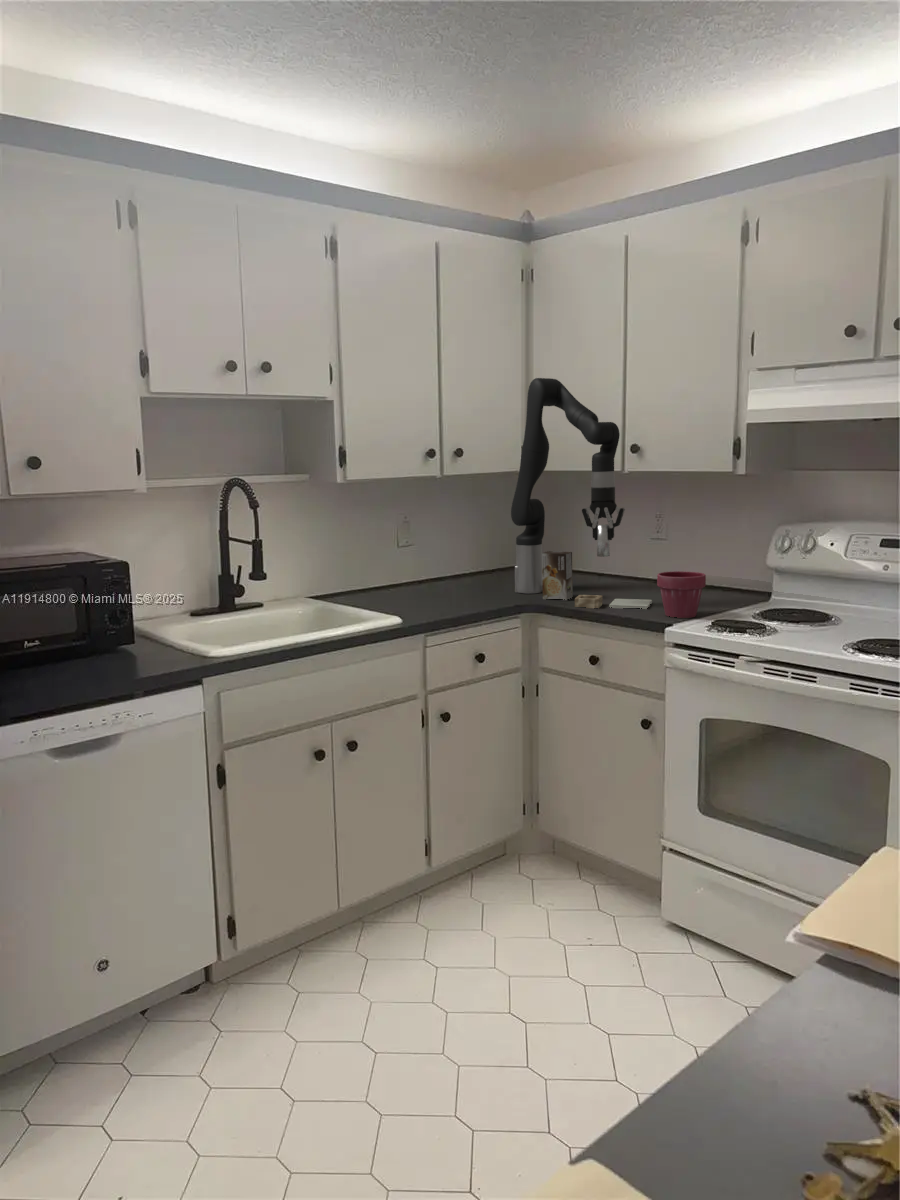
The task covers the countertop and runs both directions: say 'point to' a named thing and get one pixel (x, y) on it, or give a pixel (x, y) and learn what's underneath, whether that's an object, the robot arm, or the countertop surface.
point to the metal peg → (603, 540)
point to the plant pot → (681, 592)
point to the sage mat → (630, 603)
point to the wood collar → (588, 601)
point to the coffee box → (557, 575)
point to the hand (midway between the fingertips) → (603, 539)
